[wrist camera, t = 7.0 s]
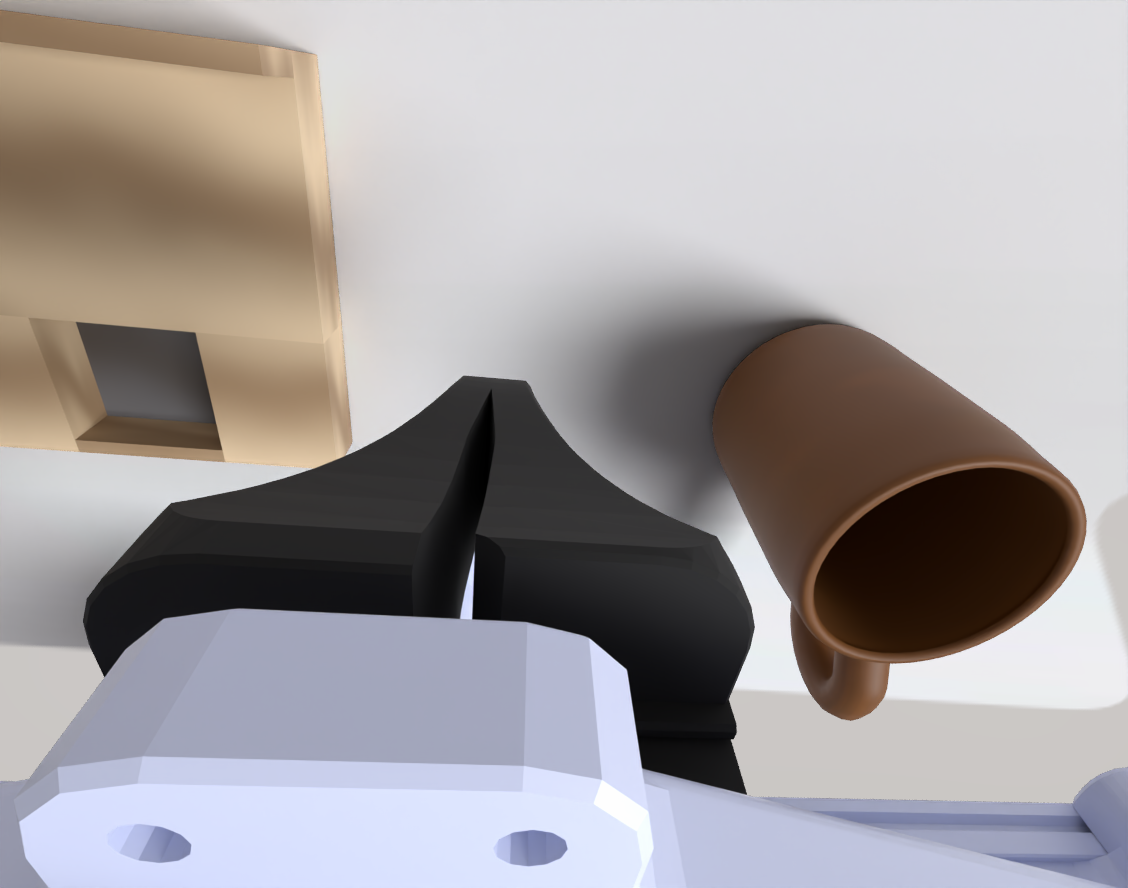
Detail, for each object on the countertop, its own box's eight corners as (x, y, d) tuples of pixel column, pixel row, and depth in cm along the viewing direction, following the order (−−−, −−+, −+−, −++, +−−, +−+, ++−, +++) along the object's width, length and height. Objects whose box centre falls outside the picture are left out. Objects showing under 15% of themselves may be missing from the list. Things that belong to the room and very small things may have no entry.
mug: (837, 559, 27) (960, 751, 19) (680, 560, 27) (740, 757, 19) (925, 317, 21) (1159, 453, 13) (723, 315, 21) (838, 452, 13)
